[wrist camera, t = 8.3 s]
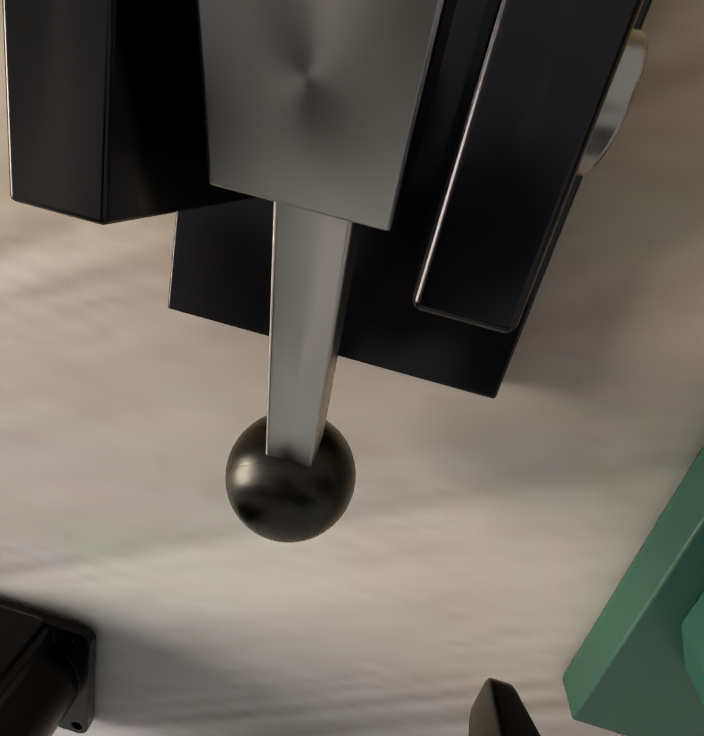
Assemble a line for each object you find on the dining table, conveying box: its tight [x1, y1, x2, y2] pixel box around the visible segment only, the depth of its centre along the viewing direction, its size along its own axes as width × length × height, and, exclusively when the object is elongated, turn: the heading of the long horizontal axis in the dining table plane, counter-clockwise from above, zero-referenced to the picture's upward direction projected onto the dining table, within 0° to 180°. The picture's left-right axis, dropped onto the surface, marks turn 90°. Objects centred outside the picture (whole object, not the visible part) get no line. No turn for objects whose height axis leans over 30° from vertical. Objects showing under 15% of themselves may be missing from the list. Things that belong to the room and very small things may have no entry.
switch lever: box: [195, 0, 457, 542], centre depth 9 cm, size 12×3×3 cm, turn 166°
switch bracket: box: [2, 0, 652, 398], centre depth 8 cm, size 12×9×9 cm
